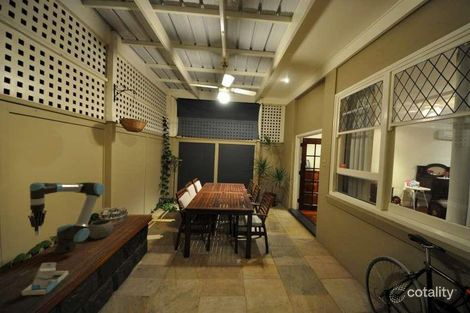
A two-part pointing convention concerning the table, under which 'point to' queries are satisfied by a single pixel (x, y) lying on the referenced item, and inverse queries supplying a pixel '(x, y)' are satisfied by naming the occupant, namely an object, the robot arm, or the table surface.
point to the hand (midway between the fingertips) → (37, 234)
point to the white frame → (51, 286)
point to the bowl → (100, 229)
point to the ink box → (44, 276)
